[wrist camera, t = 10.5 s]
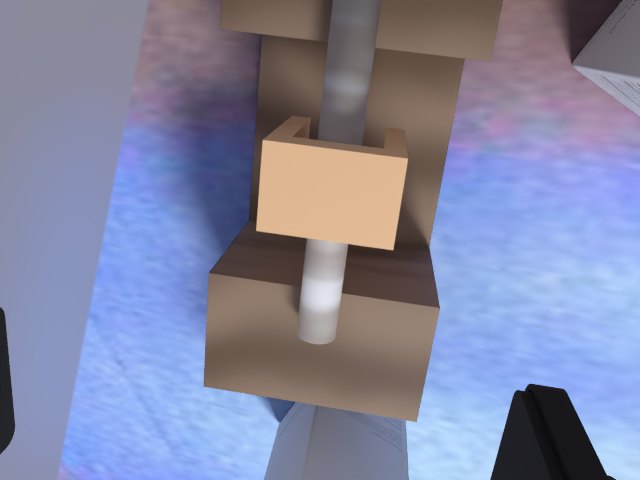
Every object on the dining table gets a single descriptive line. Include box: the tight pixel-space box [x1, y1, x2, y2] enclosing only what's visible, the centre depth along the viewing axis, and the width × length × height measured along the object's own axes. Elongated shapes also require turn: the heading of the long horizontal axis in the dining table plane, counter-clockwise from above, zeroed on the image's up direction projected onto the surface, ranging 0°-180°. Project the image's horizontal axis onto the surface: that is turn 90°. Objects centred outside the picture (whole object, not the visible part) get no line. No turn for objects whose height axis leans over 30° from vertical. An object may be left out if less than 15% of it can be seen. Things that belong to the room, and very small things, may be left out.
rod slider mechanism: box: [204, 0, 503, 422], centre depth 31 cm, size 26×12×12 cm, turn 174°
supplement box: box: [264, 402, 409, 480], centre depth 38 cm, size 7×7×13 cm
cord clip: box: [256, 116, 408, 250], centre depth 28 cm, size 4×6×8 cm, turn 84°
